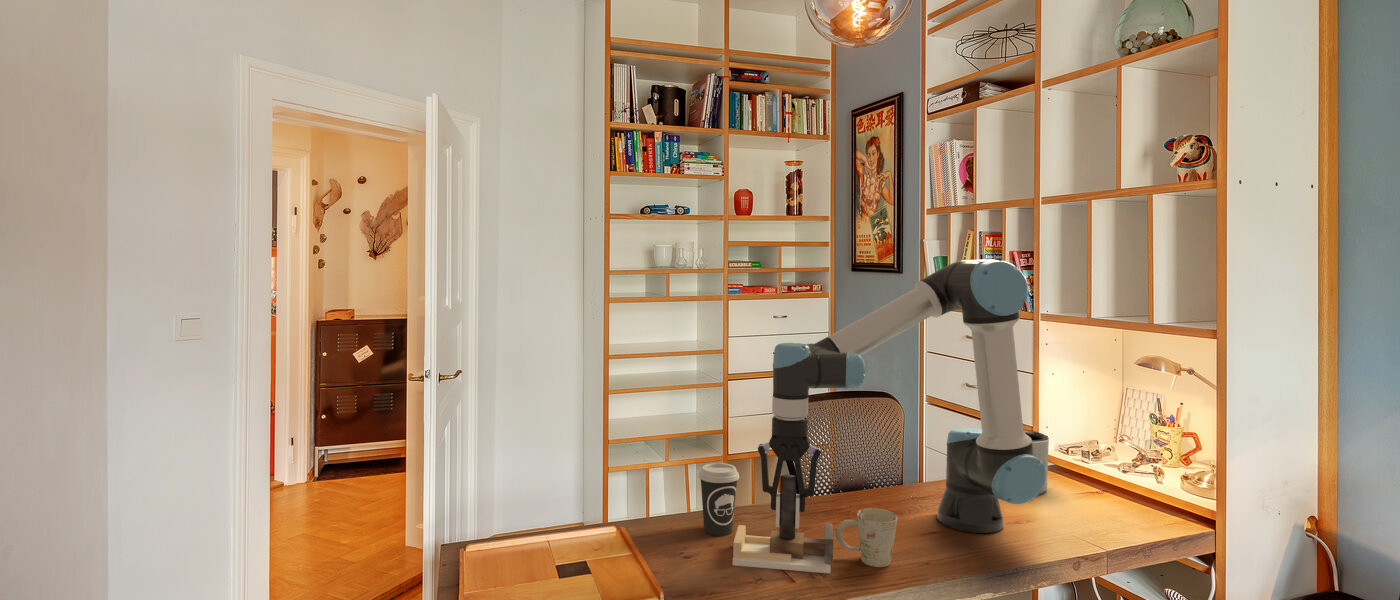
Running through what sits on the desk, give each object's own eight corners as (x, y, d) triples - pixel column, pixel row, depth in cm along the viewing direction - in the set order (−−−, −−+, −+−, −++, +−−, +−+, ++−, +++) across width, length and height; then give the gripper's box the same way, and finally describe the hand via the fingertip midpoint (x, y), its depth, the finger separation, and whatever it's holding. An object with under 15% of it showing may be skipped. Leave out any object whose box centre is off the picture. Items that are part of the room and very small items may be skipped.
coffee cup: (743, 526, 167) (744, 464, 166) (731, 541, 158) (733, 475, 157) (705, 521, 170) (706, 460, 170) (691, 535, 161) (692, 471, 160)
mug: (897, 571, 144) (898, 524, 143) (835, 565, 146) (836, 518, 146) (894, 555, 152) (895, 510, 151) (835, 549, 154) (836, 505, 154)
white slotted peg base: (829, 549, 154) (829, 530, 154) (830, 573, 142) (830, 552, 142) (738, 542, 157) (739, 523, 157) (732, 565, 146) (732, 544, 145)
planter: (1042, 501, 189) (1045, 444, 188) (980, 489, 198) (982, 435, 197) (1050, 485, 202) (1052, 432, 201) (991, 475, 211) (993, 424, 210)
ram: (831, 546, 153) (833, 473, 152) (832, 563, 144) (834, 486, 143) (771, 541, 155) (773, 469, 154) (769, 558, 146) (770, 482, 145)
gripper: (829, 414, 151) (826, 522, 152) (752, 411, 153) (750, 516, 154) (830, 422, 143) (827, 535, 144) (749, 418, 146) (747, 529, 147)
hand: (787, 525), depth 149 cm, fingers closed on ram, 3 cm apart
